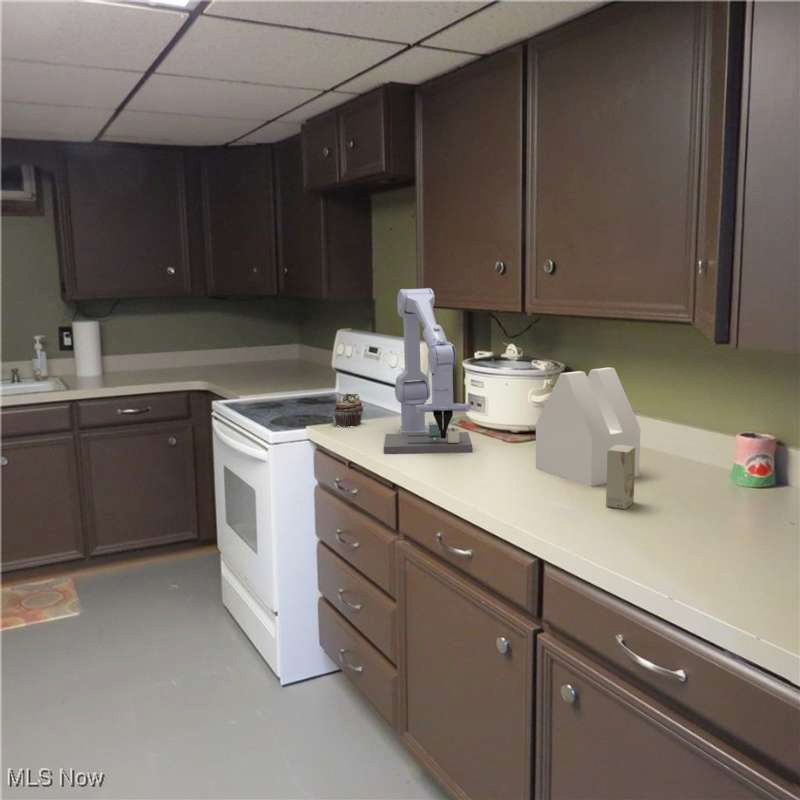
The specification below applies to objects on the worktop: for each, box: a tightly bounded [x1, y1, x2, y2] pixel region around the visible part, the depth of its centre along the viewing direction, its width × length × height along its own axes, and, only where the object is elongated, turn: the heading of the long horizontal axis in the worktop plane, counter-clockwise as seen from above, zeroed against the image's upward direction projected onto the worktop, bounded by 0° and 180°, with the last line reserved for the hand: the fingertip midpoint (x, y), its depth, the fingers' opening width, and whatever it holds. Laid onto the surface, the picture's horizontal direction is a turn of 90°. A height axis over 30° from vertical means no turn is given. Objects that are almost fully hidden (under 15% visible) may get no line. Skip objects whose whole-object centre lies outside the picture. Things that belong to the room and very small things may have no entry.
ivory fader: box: [446, 427, 460, 443], centre depth 213 cm, size 4×3×3 cm
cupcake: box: [333, 393, 364, 428], centre depth 249 cm, size 10×10×10 cm
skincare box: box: [605, 445, 635, 510], centre depth 162 cm, size 6×4×12 cm
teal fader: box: [428, 420, 440, 436], centre depth 222 cm, size 4×3×3 cm
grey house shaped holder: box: [535, 366, 641, 488], centre depth 186 cm, size 19×15×25 cm
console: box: [383, 431, 473, 455], centre depth 218 cm, size 16×24×2 cm, turn 89°
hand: (443, 437), depth 213 cm, fingers closed
